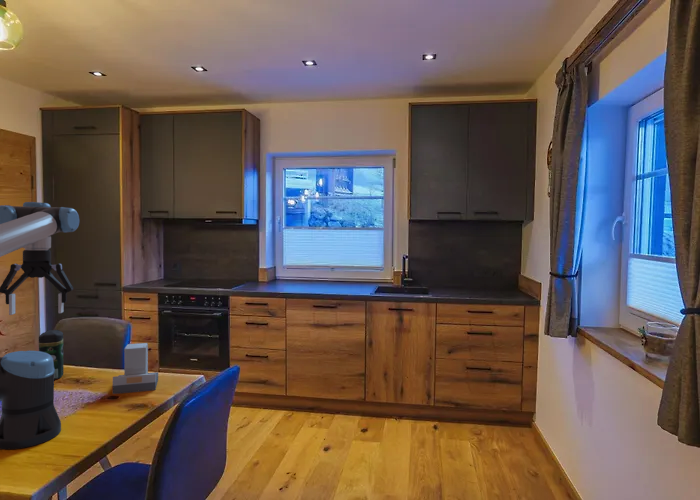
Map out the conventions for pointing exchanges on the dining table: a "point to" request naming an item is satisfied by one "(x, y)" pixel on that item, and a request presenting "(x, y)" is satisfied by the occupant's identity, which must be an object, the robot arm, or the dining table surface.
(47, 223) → the robot arm
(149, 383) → the grey display stand
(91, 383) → the dining table surface
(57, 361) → the coffee jar
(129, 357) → the supplement box
